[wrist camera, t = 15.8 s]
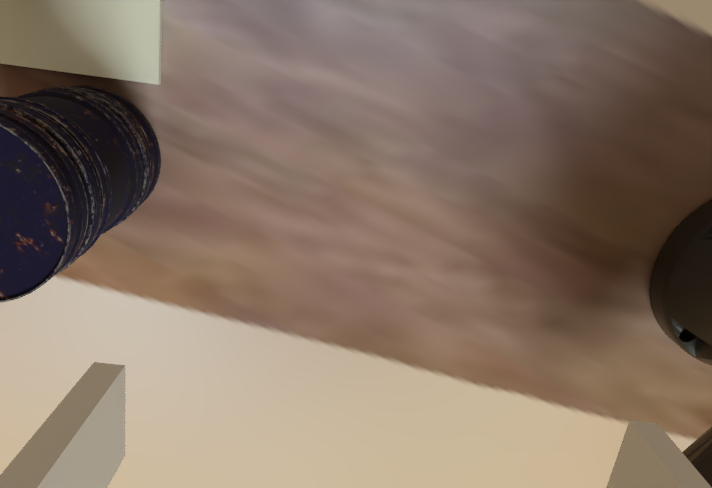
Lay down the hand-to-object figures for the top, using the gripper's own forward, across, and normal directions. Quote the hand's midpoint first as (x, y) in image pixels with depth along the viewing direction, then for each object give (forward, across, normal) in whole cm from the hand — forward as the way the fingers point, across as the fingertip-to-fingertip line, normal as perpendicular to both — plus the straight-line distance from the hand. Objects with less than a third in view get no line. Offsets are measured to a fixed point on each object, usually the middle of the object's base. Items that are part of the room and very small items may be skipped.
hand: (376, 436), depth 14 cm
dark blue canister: (+29, +20, 0) cm, 35 cm away
